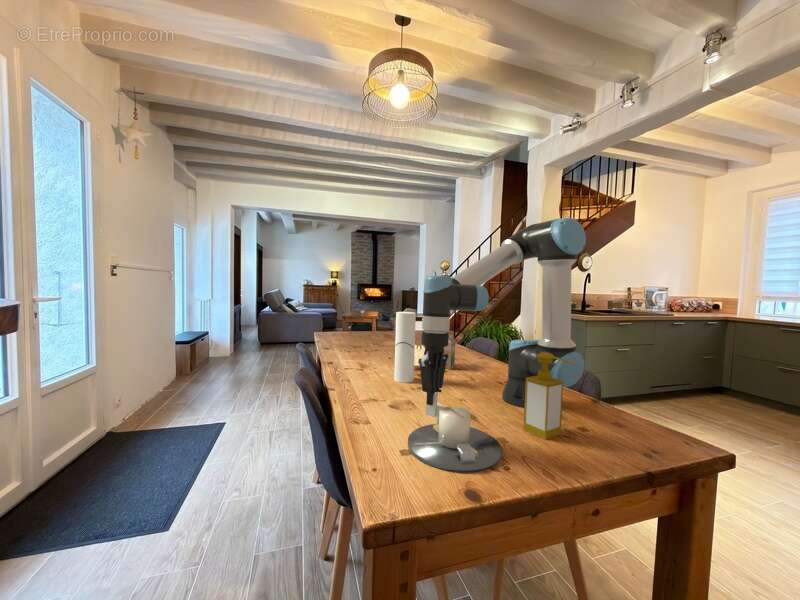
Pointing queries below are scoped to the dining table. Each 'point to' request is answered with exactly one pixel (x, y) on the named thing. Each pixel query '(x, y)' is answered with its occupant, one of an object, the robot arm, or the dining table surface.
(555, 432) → the soap bottle
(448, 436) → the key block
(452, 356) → the milk carton
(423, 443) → the post base
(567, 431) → the dining table surface
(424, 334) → the robot arm
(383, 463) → the dining table surface
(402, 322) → the container
